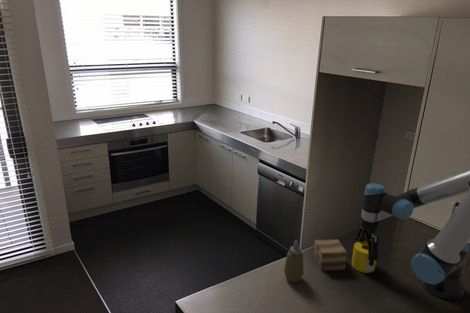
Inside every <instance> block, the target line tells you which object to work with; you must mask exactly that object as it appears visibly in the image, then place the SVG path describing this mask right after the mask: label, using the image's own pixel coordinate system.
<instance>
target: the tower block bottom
mask: <svg viewBox="0 0 470 313" xmlns="http://www.w3.org/2000/svg"><path fill="white" fill-rule="evenodd" d="M312 257H313V259H314V260H315V262H316V264H317V266H318V268H319V270H320V271H340V270H344V271H345V270H346V267H347V266H346V265H347V260H346V261H342V262H321V260H320V259H319V257H318V255H317V253H316V252H315V250H314V249H313V255H312Z"/></svg>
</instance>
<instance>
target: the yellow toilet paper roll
mask: <svg viewBox="0 0 470 313" xmlns="http://www.w3.org/2000/svg"><path fill="white" fill-rule="evenodd" d="M368 257H369V254H368V245H367V242H366V241H364V242H357V243H356V242H355V243H354V244H353V249H352V257H351V266H353V267H352V268H353V269H354V268H355V270H356V271H357V272H360V273H363V274H364V273H366V274H367V273H368V274H370V273H373V272H375V269H376V264H377V260H374V264H373V270H372V271H366V264H367V258H368Z"/></svg>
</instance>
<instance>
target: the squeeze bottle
mask: <svg viewBox="0 0 470 313" xmlns="http://www.w3.org/2000/svg"><path fill="white" fill-rule="evenodd" d="M283 269H284V271H283V272H284V275H285V278H286V280H287V281H288V282H289V283H293V284H295V283H299V282H300V281H301V279H302V278H303V276H304V254H303V252H302V248H301V247H300V245H299V240H294V242H293V245H292V246H290V248H289V251H288V252H287V254H286V260H285V266H284V268H283Z"/></svg>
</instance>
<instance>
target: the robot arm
mask: <svg viewBox="0 0 470 313" xmlns="http://www.w3.org/2000/svg"><path fill="white" fill-rule="evenodd" d="M463 194H465V196H464V197H463V199H462V200H461V201H460V203H459V204H458V205H457V206H456V208H455V209H454V212H453V213H452V214H451V216H450V217H449V218H448V220H446V223H445V224H444V225H443V227H442V228H441V229H440V231H439V233H437V234H436V235H435V237H434V238H430V239H428V240H427V242H426V243H425V244H424V245H423V248H421V251H420V252H418V253H416V254H415V255H414V256H413V257H412V259H411V261H410V262H411V263H410V264H411V268H412V270H413V272H414V274H415V276H416V277H417V278H418V279H419V280H421V285H422V287H423V288H424V290H426V291H427V292H428V293H430V294H431V295H434V296H436V297H438V298H440V299H445V300H449V301H450V300H451V301H456V300H460V299H461V298H463V295H464V292H465V286H464V280H463V274H464V270H465V266H466V262H467V259H468V255H469V252H470V244H469V242H470V169H467V170H464V171H461V172H457V173H456V174H453V175H450V176H446V177H444V178H442V179H441V178H440V179H438V180H435V181H432V182H429V183H426V184H423V185H420V186H418V187H415V188H411V189H408V190H407V191H405V192H402V193H399V194H397V195H392V194H390V193H387V192H385V186H384V185H382V184H381V183H373V182H372V183H368V184H366V186H365V189H364V193H363V203H362V208H361V218H360V222H359V223H358V228H357V231H356V234H355V236H354V240H355V241H356V242H355V243H357V242H367V245H368V254H369V257H368V258H367V264H366V271H372V270H373V264H374V260H376V261H377V260H378V259H379V237H378V236H375V235H376V231H377V230H378V229H379V228H380V226H379V225H380V218H381V214H382V212H385V213H386V214H389V215H391V216H393V217H395V218H397V219H398V218H399V219H401V220H407V219H409V218H410V217H411V216H412V214H413V213H414V209H416V208H419V207H422V206H427V205H429V204H433V203H435V202H440V201H443V200H446V199H449V198H453V197H456V196H460V195H463Z"/></svg>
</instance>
